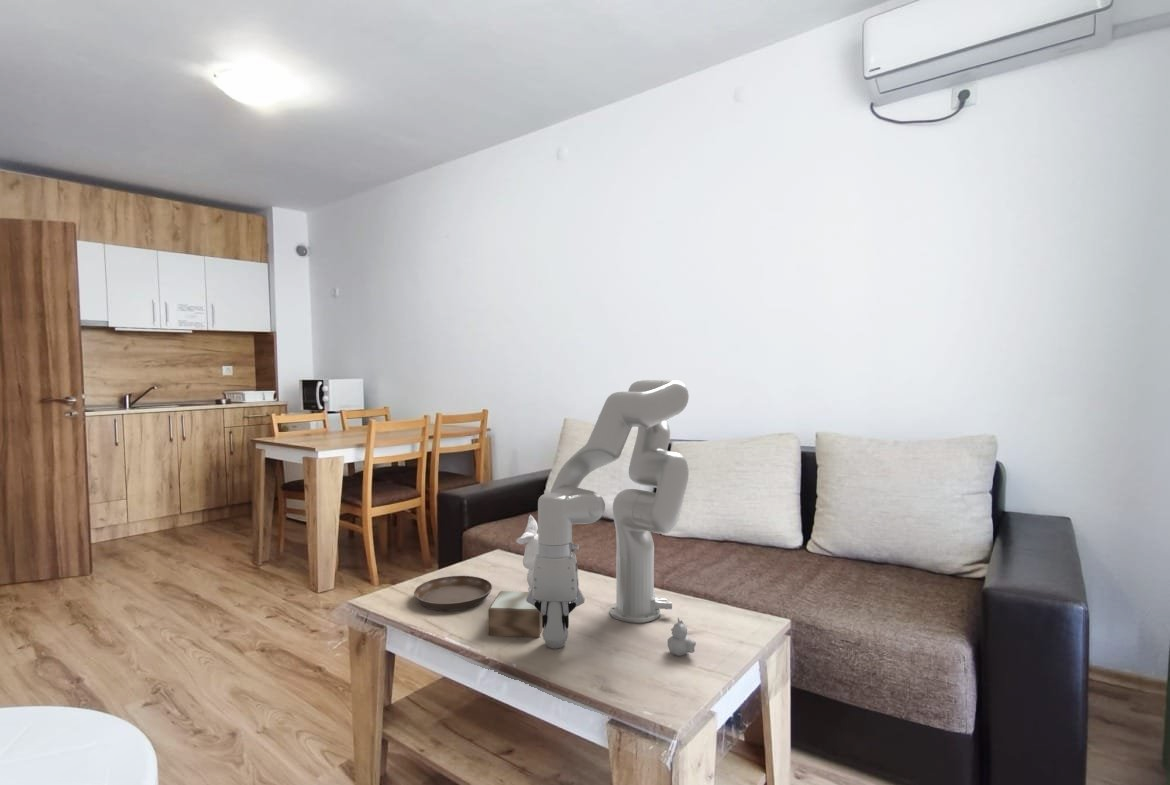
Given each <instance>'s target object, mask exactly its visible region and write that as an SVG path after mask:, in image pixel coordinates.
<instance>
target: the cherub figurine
mask: <svg viewBox="0 0 1170 785" xmlns="http://www.w3.org/2000/svg"><path fill="white" fill-rule="evenodd" d="M515 542H516V544H517V545H521V546H523V544H525V547H524V554H523V557H522V565H523V567H524V568H526V570H528V572H527V574H526V581H527V584H528V586H529V587H528V588H527V590H528V591H527V592H530V591H531V589H532V581H533V568H534V561H535V556H536V554H537V553H538V522H537V521H536V519H535V518H534V517H533V515H531V514H529V516H528V519H527V525H526V527H525V531H524V533H523V534H521V536H520V537H517V539H516V540H515Z"/></svg>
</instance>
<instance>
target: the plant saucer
mask: <svg viewBox="0 0 1170 785" xmlns="http://www.w3.org/2000/svg"><path fill="white" fill-rule="evenodd" d="M492 590H493V584H492V583H491V582H490V581H489V580H487V579H485V578H482V577H478V576H474V575H473V576H472V575H471V576H470V575H451V576H443V577H437V578H433V579H431V580H428V581H425V582H423V583H421V584H419V585H418V586H417V587H416V588H415V589H414V592H413V594H414V595H413V596H414V598H416V600H417V601H418V602H419V603H420V604H421V605H423V606H424V607H425V608H427V609H430V610H434V609H435V611H440V610H443V611H444V612H449V611H450V612H452V611H460V610H466V609H470V608H473V607H475V606H477V605H479V604H481V603H482V602H483V601H485V599H486V598H487V597H488V596H489V595H490V593H492Z"/></svg>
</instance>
